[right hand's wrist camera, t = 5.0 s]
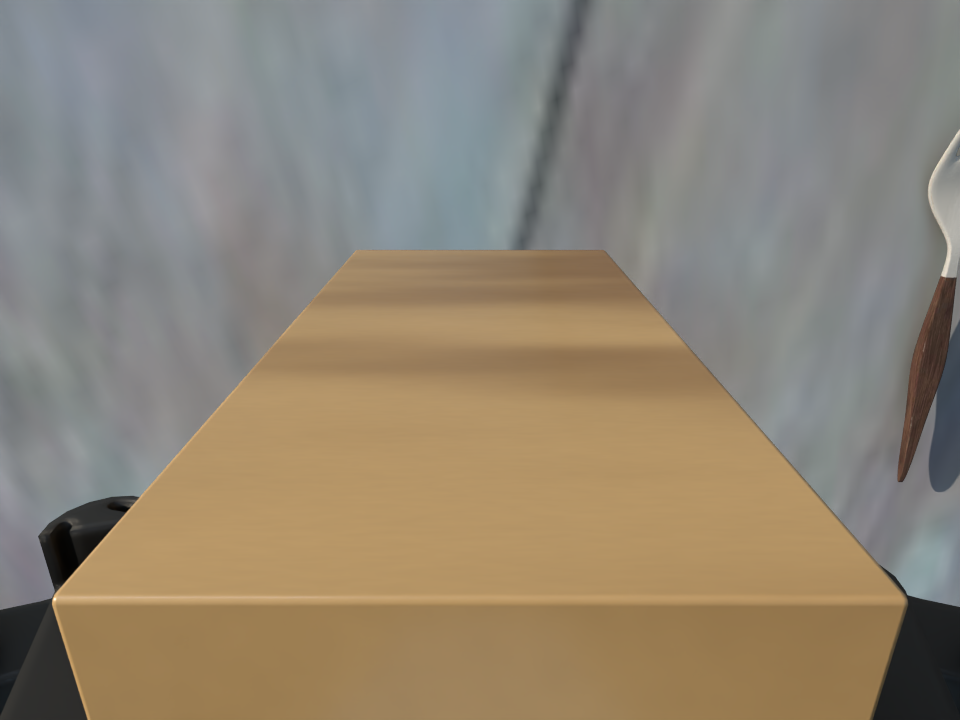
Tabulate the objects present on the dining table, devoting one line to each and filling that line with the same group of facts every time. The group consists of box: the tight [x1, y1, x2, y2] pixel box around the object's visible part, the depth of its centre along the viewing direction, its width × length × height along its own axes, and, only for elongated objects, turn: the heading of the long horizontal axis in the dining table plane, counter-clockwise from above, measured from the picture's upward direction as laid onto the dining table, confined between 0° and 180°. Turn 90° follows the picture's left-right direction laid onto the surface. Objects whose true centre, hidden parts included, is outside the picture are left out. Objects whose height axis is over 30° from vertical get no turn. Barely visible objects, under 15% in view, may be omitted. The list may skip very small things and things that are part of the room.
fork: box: [898, 130, 960, 482], centre depth 24 cm, size 3×16×2 cm, turn 2°
